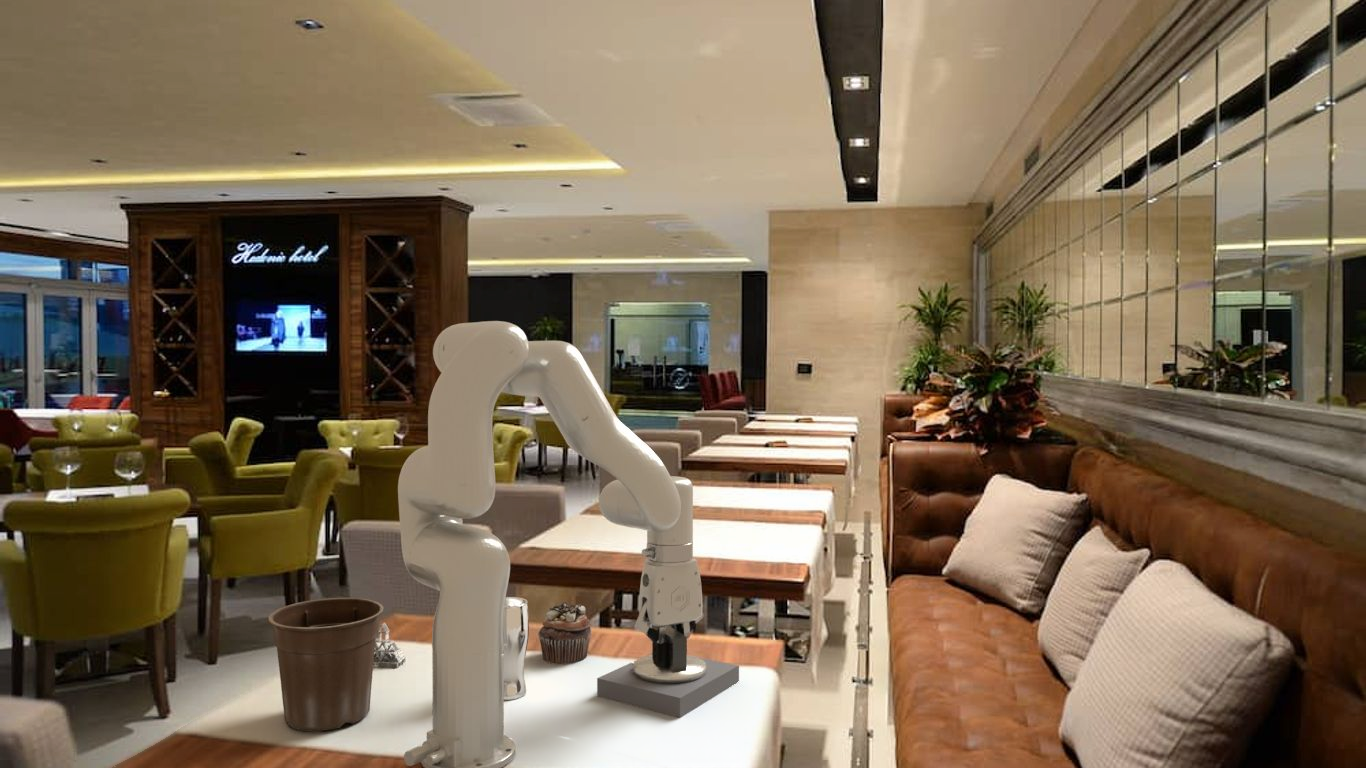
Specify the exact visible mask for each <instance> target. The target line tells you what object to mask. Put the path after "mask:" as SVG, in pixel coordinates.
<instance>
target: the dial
mask: <svg viewBox="0 0 1366 768" xmlns="http://www.w3.org/2000/svg"><path fill="white" fill-rule="evenodd" d="M657 633H658V629H657ZM664 643H666V644H667V668H661V667H659V666H657V665H654V663H653V659H652V655H649V654H647V655H648V656H647V655H644V656H641V657H639V658H637V659H636V660H634V661H635V662H634V661H633V662H634V663H633V673H634V674H635V675H636V676H637V677H639V678H641V679H643V680H647V681H651V682H658V683H681V682H687V681H692V680H695V679H698V678H700V677H702V676H703V675H704V674H705V673H706V663H705V661H704V660H702V659H700V658H701V657H700V658H698V657H699V656H696V655H692V654H688V639H687V637H686V636H684V635H683V634H681V633H680V632H678V631H677V630H675V629H674V627H672V626H671V625H670V626H666V631H665V641H664Z"/></svg>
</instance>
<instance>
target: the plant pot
mask: <svg viewBox="0 0 1366 768" xmlns="http://www.w3.org/2000/svg"><path fill="white" fill-rule="evenodd" d="M383 613H384V606H383V604H382V603H380V602H378V601H374V600H372V599H367V598H357V597H335V598H333V597H332V598H330V597H329V598H320V599H314V600H305V601H301V602H296V603H293V604H289V605H284V606H282V607H280V608H278V609H276V610H275V611H273V612H272V613H270V615H269V616H268V623H269V624H270V625H271V626H272V627H271V628H272V634H273V635H272V636H273V644H274V646H275V647H276V651H277V663H278V670H279V678H280V687H281V688H280V689H281V698H282V705H283V720H284V722H285V725H290V726H291V728H293V729H295V730H300V731H301V730H302V731H306V732H320V731H327V730H335V729H339V728H341V727H342V726H343V725H344V724H348V723H350V724H352V725H353V724H355V723H358V722H359V721H360V720H362V719H364V718H365V717H367V715H368V714H369V712H370V710H371V695H372V694H371V693H372V683H373V671H374V667H373V662H374V651H375V641H376V640H377V637H378V631H379V628H380V619H381V615H382V614H383Z"/></svg>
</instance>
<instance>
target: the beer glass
mask: <svg viewBox="0 0 1366 768" xmlns="http://www.w3.org/2000/svg"><path fill="white" fill-rule="evenodd" d="M529 621H530V620H529V608H528V600H527V599H526V598H523V597H517V596H506V598H505V606H504V630H503V642H504V701H512V700H517V699H521V698H522V697H524V696H525V695H526V694H527V687H526V681H525V672H524V671H525V670H524V669H525V661H526V655H527V650H528V649H527V648H528V643H529V636H530V635H529V633H530V631H529V630H530V622H529Z"/></svg>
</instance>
